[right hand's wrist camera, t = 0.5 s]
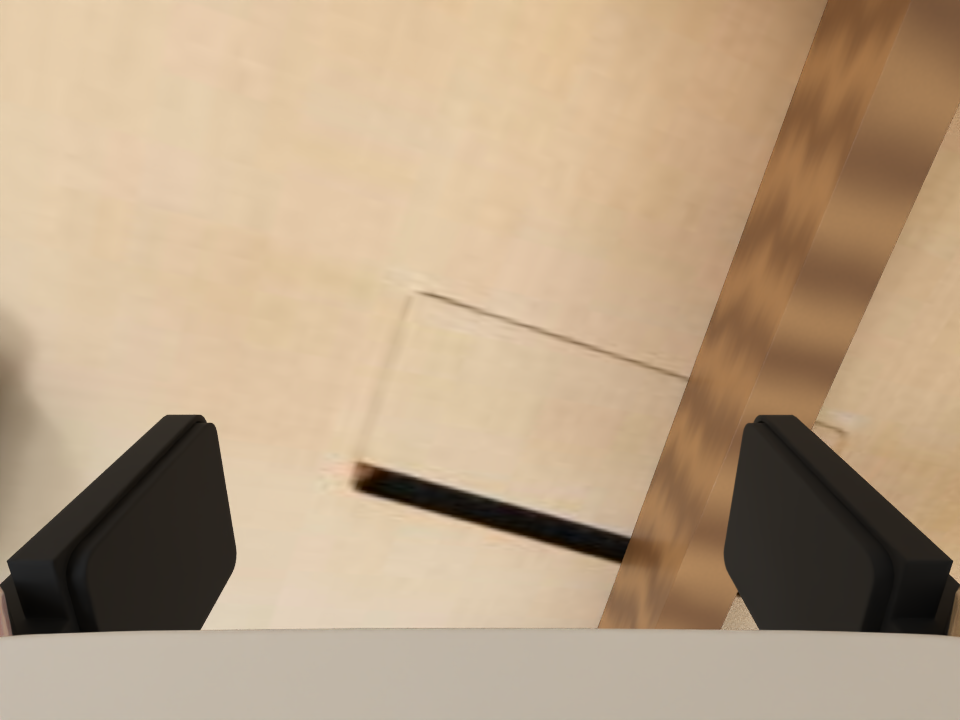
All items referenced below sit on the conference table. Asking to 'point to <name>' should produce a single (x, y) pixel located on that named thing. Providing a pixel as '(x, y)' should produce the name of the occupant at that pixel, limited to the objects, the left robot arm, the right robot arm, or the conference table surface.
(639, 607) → the bar
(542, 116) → the conference table surface
